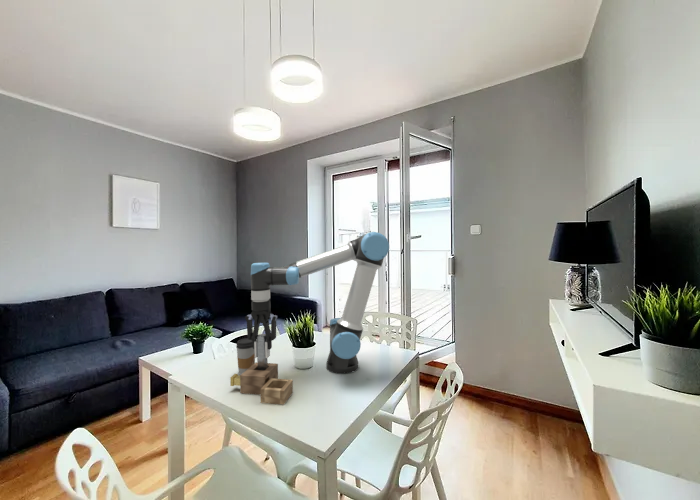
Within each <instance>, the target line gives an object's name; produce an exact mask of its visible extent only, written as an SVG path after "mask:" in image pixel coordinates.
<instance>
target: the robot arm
mask: <svg viewBox="0 0 700 500" xmlns="http://www.w3.org/2000/svg"><path fill="white" fill-rule="evenodd" d="M389 251H390V242H389V240H388V239H387V237H386V236H385V235H384V234H382V233H380V232H379V231H378V232H376V231H370V232H367V233H365V234H363V235H361V236H359V237H358V238H355V239H353V240H350V241H348V243H347V244H345V245H342V246H339V247H336V248H333V249H330V250H327V251H324V252H321V253H318V254H316V255H312V256H310V257H307V258H304V259H301V260H297V261H296V262H292V263H289V264H285V265H283V266H277V267H273V266H271V265H270V263H269V262H254V263H252V264H251V266H250V286H251V287H250V289H251V291H250V292H251V293H250V296H251V297H250V300H251V304H250V305H251V313H250V314H247V315H245V317H244V318H245V321H246V332H247V333H246V335H247V338H248V340H252V346H253V349H254V350H255V359H257V335H259V330H260V325H261V324H262V326H263V328H264V334H266V339H267V341H266V342H265V358H267V359H268V358H269V357H270V356H271V349H272V348H273V344H272V342H273V341H274V340H276V338H277V320H278V317H279V316H278V315H276V314H275V315H274V314H273V313H272V311H271V308H272V307H271V306H272V305H271V286H292V285H298V284H299V283H300V278H303V277H306V276H309V275H312V274H314V273H318V272H320V271H323V270H328V269H329V268H332V267H335V266H338V265H341V264H345V263H347V262H350V261H354V262H356V267H355V270H354V274H353V278H352V282H351V285H350V287H349V288H350V289H349V292H348V295H347V298H346V301H345V302H346V303H345V306H344V309H343V311H342V316H341V317H335V318H331V319H330V321H329V354H328V357H327V359H326V364H325V365H326V367H325V368H326V370H327V371H329V372H330V373H333V374H343V375H344V374H350V373H354V372H356V371H358V370H359V369H358V368H359V360H358V357H357V355H358V354H359V352H360V350H361V345H362V343H361V342H362V341H361V339H362V334H363V331H364V327H363V325H362V321H363V318H364V314H365V311H366V308H367V304H368V300H369V298H370V295H371V291H372V287H373V284H374V280H375V278H376V277H375V276H376V274H377V273H376V272H377V271H378V270H379V269H380V268H382V265H383V264H384V263H383V262H384V260H385V258H386V256H387V255H388V253H389ZM269 319H270V320H269ZM253 321H254V322H253Z"/></svg>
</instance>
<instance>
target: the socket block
mask: <svg viewBox="0 0 700 500" xmlns="http://www.w3.org/2000/svg"><path fill="white" fill-rule="evenodd" d="M271 378H274V379H279V363H274V362H273V363H272V362H270V363H269V362H268V368H267V369H266V370H265V371H262V370H258V364H257V362H255V364H253V365H252V366H251V367H250V368H249V369H247V370H246V371H245V372H244V373H243V374H241V375H240V386H239V388H240V394H243V395H244V394H246V395H256V396H257V395H259V396H261V388H262V387H263V386H264V385H265V380H266V383H267V382H268V381H269V380H270V379H271Z"/></svg>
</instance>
